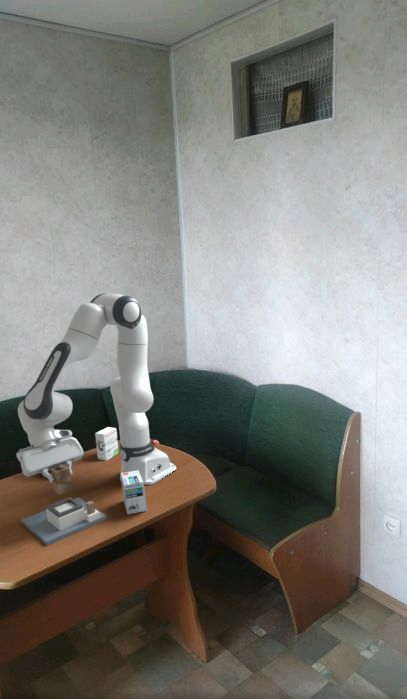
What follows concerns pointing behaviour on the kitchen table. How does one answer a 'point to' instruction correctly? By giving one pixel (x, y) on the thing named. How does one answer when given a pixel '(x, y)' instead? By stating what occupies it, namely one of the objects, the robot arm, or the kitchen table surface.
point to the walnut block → (61, 479)
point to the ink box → (106, 443)
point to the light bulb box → (133, 492)
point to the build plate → (53, 531)
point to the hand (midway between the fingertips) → (61, 478)
